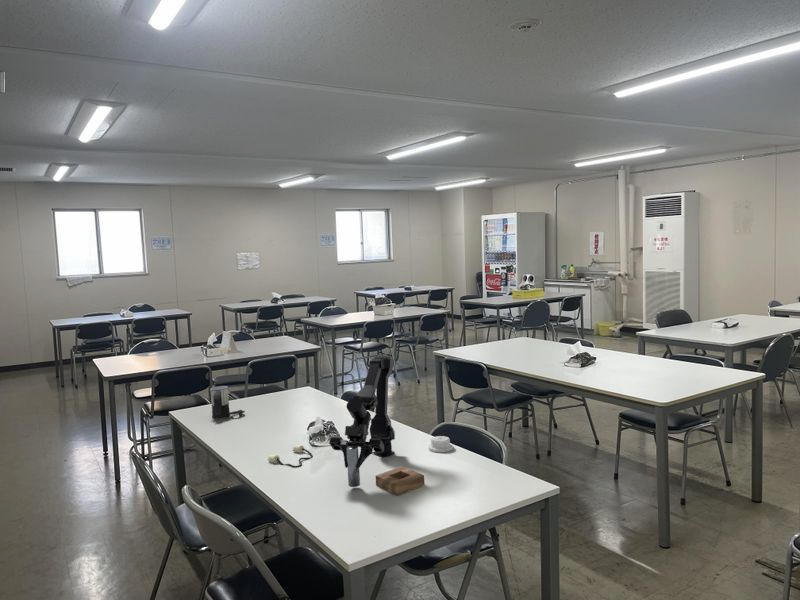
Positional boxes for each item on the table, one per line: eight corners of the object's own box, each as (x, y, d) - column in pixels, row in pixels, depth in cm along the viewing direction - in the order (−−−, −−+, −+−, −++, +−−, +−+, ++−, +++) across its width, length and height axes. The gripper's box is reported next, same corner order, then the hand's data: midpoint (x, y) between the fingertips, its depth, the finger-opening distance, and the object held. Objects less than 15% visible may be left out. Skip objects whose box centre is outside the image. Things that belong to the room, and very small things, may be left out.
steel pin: (346, 484, 199) (344, 448, 198) (355, 481, 202) (353, 445, 200) (352, 488, 196) (350, 450, 195) (362, 484, 199) (360, 447, 197)
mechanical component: (425, 446, 238) (433, 454, 229) (424, 436, 238) (432, 443, 228) (447, 443, 241) (456, 451, 231) (447, 433, 241) (456, 440, 231)
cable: (324, 457, 233) (323, 448, 233) (294, 470, 220) (293, 461, 220) (297, 450, 242) (296, 442, 242) (267, 463, 229) (266, 455, 229)
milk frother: (210, 414, 303) (208, 387, 302) (241, 410, 310) (239, 383, 308) (214, 421, 290) (212, 392, 289) (246, 416, 297) (244, 388, 296)
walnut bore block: (376, 485, 201) (375, 475, 201) (402, 475, 208) (402, 466, 208) (397, 495, 192) (397, 485, 191) (424, 484, 199) (424, 475, 199)
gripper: (329, 414, 203) (318, 456, 193) (379, 415, 198) (371, 458, 188) (339, 429, 211) (329, 469, 202) (387, 431, 206) (380, 472, 197)
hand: (351, 467), depth 197 cm, fingers closed on steel pin, 4 cm apart
